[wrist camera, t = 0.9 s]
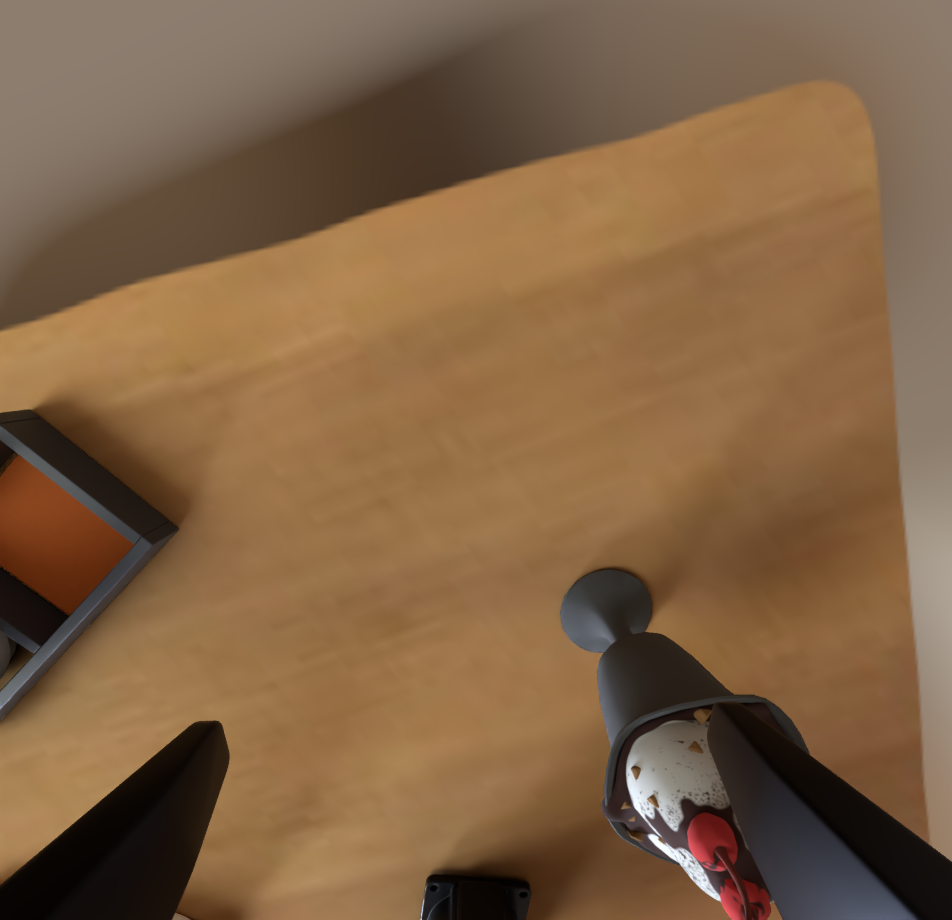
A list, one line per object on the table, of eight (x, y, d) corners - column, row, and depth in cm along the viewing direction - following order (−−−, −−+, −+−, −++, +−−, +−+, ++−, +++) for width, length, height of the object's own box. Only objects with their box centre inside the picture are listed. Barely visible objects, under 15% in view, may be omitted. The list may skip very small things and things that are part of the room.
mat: (153, 528, 22) (151, 530, 22) (74, 614, 23) (71, 617, 23) (36, 435, 21) (32, 436, 21) (-43, 530, 22) (-47, 531, 22)
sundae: (534, 566, 23) (659, 915, 9) (661, 543, 23) (1002, 855, 9) (551, 674, 25) (683, 1128, 10) (670, 653, 25) (976, 1077, 10)
